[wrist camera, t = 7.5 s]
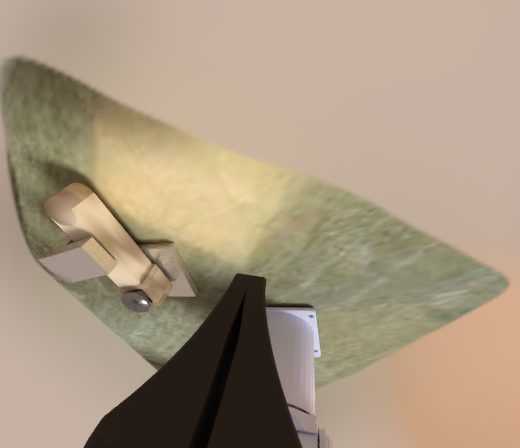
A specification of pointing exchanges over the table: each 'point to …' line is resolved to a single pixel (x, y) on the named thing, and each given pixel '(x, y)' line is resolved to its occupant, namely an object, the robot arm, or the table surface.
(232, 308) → the robot arm
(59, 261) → the block
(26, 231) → the table surface
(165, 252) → the pintle base
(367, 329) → the table surface
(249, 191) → the table surface
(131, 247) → the link
